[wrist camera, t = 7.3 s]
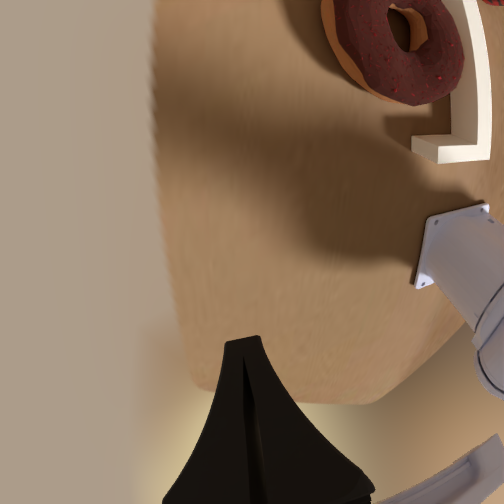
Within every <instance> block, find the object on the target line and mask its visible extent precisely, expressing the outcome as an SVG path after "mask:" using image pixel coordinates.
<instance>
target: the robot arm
mask: <svg viewBox="0 0 504 504" xmlns="http://www.w3.org/2000/svg"><path fill="white" fill-rule="evenodd" d="M488 211H489V204H487V203H483V204H479V205H475V206H471V207H467V208H463V209H459V210H455V211H451V212H447V213H443V214H439V215H435V216H431V217H429V218H428V219H427V221H426V226H425V233H424V239H423V245H422V250H421V255H420V260H419V265H418V270H417V274H416V279H415V283H414V287H415V288H416V289H419V288H422V287H425V286H427V285H430V284H432V283H436V285H437V286H438V287H439V288H440V289H441V291H442V292H443V293H444V294H445V295H446V297H447V298H448V299H449V300H450V302H451V303H452V304H453V305H454V307H455V308H456V309H457V310H458V312H459V313H460V314H461V315H462V317H463V318H464V319H465V321H466V322H467V323H468V325H469V326H470V327H471V329H472V330H473V331H474V333H475V336H474V337H473V339H472V343H473V344H474V346H475V347H476V350H475V352H474V367H475V370H476V374H477V377H478V379H479V381H480V383H481V384H482V385H483V387H484V388H485V389H486V390H487V391H488V392H489V393H490V394H492V395H494V396H496V397H498V398H500V399H502V400H504V225H503V224H502V223H501V222H499V221H498V220H497V219H495V218H494V217H493V216H491V215H490V214H489V213H488ZM502 483H504V447H503V444H502V442H501V440H500V438H499V436H498V434H494V435H493V436H492V437H490V438H489V439H488V440H486V441H485V442H483V443H482V444H480V445H479V446H476V447H475V448H473V449H472V450H470V451H469V452H467V453H466V454H464V455H463V456H462V457H460V458H459V459H457V460H455V461H454V462H453V464H451V465H450V466H448V467H447V468H445V469H443V470H442V471H440V472H438V473H437V474H435V475H433V476H432V477H430V478H428V479H426V480H424V481H422V482H420V483H419V484H416V485H415V486H413V487H411V488H409V489H406V490H404V491H403V492H400V493H398V494H396V495H394V496H391V497H389V498H387V499H384V500H382V501H379V502H377V503H374V504H480V503H481V502H483V501H484V500H485V499H486V498H487V497H488V496H489V495H490V494H492V493H493V492H494V491H495V490H496V489H497V488H498V487H499V486H500V485H502ZM374 491H375V487H374V485H373V483H372V482H371V480H370V479H369V478H368V477H367V476H366V475H365V474H364V473H363V471H362V470H361V469H360V468H359V467H358V466H356V465H355V464H354V463H353V462H351V461H350V460H349V459H348V458H347V457H345V456H344V455H343V454H342V453H341V452H340V451H339V450H337V449H336V448H335V447H334V446H333V445H332V444H331V443H330V442H329V441H328V440H327V439H326V438H325V437H324V436H323V435H322V434H321V433H320V432H319V431H318V430H317V429H316V428H315V426H314V425H313V424H312V423H311V422H310V421H309V419H308V418H307V417H306V416H305V415H304V413H303V412H302V411H301V410H300V408H299V407H298V406H297V404H296V403H295V402H294V400H293V399H292V398H291V396H290V395H289V393H288V392H287V390H286V389H285V387H284V386H283V384H282V383H281V381H280V379H279V378H278V376H277V374H276V373H275V371H274V369H273V367H272V365H271V363H270V361H269V359H268V357H267V355H266V353H265V350H264V348H263V344H262V341H261V337H260V336H258V335H255V336H251V337H246V338H241V339H236V340H232V341H227V342H226V343H225V346H224V355H223V361H222V367H221V372H220V376H219V380H218V384H217V388H216V392H215V396H214V399H213V402H212V405H211V409H210V412H209V415H208V418H207V420H206V423H205V426H204V428H203V430H202V433H201V435H200V437H199V440H198V442H197V444H196V446H195V448H194V450H193V452H192V454H191V456H190V458H189V460H188V462H187V463H186V465H185V467H184V468H183V470H182V472H181V473H180V475H179V477H178V478H177V480H176V481H175V483H174V484H173V485H172V487H171V488H170V490H169V491H168V493H167V494H166V495H165V497H164V498H163V500H162V504H371V502H370V501H371V497H370V494H371V493H373V492H374Z"/></svg>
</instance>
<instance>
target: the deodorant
mask: <svg viewBox="0 0 504 504" xmlns="http://www.w3.org/2000/svg"><path fill="white" fill-rule="evenodd" d="M483 1H484V2H485V3H487V4H489V5H496V6H504V0H483Z"/></svg>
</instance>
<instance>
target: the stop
mask: <svg viewBox="0 0 504 504" xmlns="http://www.w3.org/2000/svg"><path fill="white" fill-rule="evenodd" d="M441 2H442V3H443V4H444V5H445V7H446V8H447V10H448V11H449V13H450V14H451V15H452V17H453V19H454V22H455V24H456V26H457V29H458V32H459V35H460V39H461V42H462V46H463V53H464V56H465V57H464V58H465V59H464V66H463V71H462V74H461V78H460V80H459V82H458V84H457V86H456V87H457V88H456V87H455V89H454V90H453V91H451V92H450V98H451V134H448V135H416V136H411V151H412V152H414V153H416V154H418V155H420V156H422V157H424V158H427V159H429V160H431V161H433V162H435V163H437V164H443V163H453V162H463V161H475V160H489V159H490V148H491V129H492V100H491V81H490V70H489V61H488V54H487V47H486V41H485V35H484V30H483V26H482V21H481V17H480V13H479V9H478V5H477V1H476V0H441Z"/></svg>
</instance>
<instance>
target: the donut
mask: <svg viewBox="0 0 504 504" xmlns="http://www.w3.org/2000/svg"><path fill="white" fill-rule="evenodd" d="M389 8H392V9H395V10H396V11H398V12H400V13H401V14H403V15H404V16H405V18H406V19H407V20H408V22H409V24H410V49H409V52H404V51H403V50H401V49H400V47H399V46H398V45H397V43H396V42H395V40H394V39H395V38H394V37H393V34H392V32H391V29H390V26H389V23H388V20H387V13H388V9H389ZM321 18H322V22H323V25H324V29H325V33H326V36H327V39H328V41H329V43H330V45H331V48H332V49H333V51H334V53H335V55H336V57H337V59H338V60H339V62H340V64H341V66H342V68H343V69H344V70H345V71H346V72H347V73H348V74H349V75H350V77H351V78H352V79H354V80H355V81H356V82H357V83H358V84H360V85H361V86H362V87H363V88H364V89H366V90H367V91H368V92H370V93H371V94H373V95H375V96H376V97H378V98H380V99H382V100H385V101H388V102H393V103H400V104H407V106H408V105H411V106H418V105H422V104H427V103H431V102H433V101H436V100H438V99H440V98H443V97H444V96H446V95H448V94H449V93H450V92H451V91H453V90H454V89H455V87H456V86H457V84H458V82H459V80H460V78H461V74H462V71H463V66H464V59H465V58H464V57H465V56H464V53H463V46H462V42H461V39H460V35H459V32H458V29H457V26H456V24H455V22H454V19H453V17H452V15H451V14H450V13H449V11H448V10H447V8H446V7H445V5H444V4H443V3H442V2H441V0H322V2H321ZM456 88H457V87H456Z"/></svg>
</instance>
